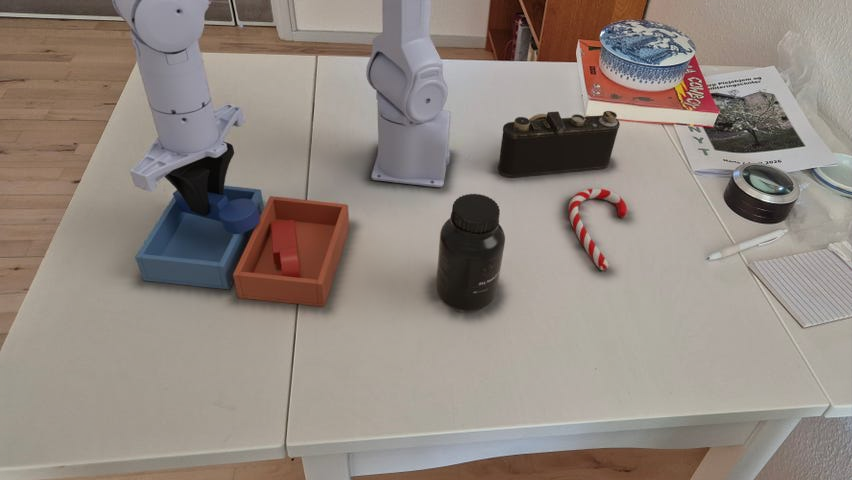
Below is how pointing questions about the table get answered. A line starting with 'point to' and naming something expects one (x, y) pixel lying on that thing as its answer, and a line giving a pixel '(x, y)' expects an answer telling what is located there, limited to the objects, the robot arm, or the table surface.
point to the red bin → (317, 252)
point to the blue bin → (195, 246)
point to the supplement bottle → (470, 253)
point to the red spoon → (285, 247)
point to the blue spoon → (227, 212)
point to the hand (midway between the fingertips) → (206, 206)
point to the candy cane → (579, 226)
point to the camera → (557, 144)
